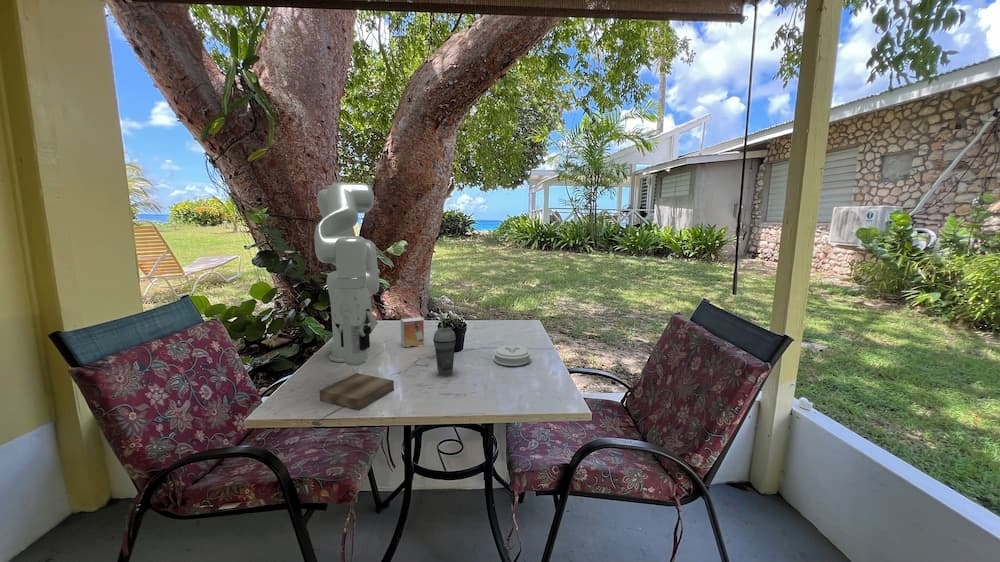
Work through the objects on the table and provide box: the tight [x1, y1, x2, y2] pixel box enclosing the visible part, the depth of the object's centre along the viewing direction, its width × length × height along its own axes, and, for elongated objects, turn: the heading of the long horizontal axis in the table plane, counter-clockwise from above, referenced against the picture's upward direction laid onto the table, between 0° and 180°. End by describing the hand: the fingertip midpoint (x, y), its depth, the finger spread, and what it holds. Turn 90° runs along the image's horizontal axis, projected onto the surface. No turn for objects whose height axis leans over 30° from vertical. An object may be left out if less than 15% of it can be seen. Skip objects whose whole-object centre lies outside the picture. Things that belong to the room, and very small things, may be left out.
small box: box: [400, 316, 425, 348], centre depth 163 cm, size 8×6×10 cm
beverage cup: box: [432, 312, 457, 378], centre depth 132 cm, size 7×7×20 cm
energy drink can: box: [343, 316, 368, 367], centre depth 114 cm, size 6×6×15 cm
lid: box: [493, 344, 531, 367], centre depth 145 cm, size 13×13×5 cm
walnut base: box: [319, 372, 395, 411], centre depth 117 cm, size 14×14×3 cm
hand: (355, 346), depth 115 cm, fingers closed on energy drink can, 6 cm apart
